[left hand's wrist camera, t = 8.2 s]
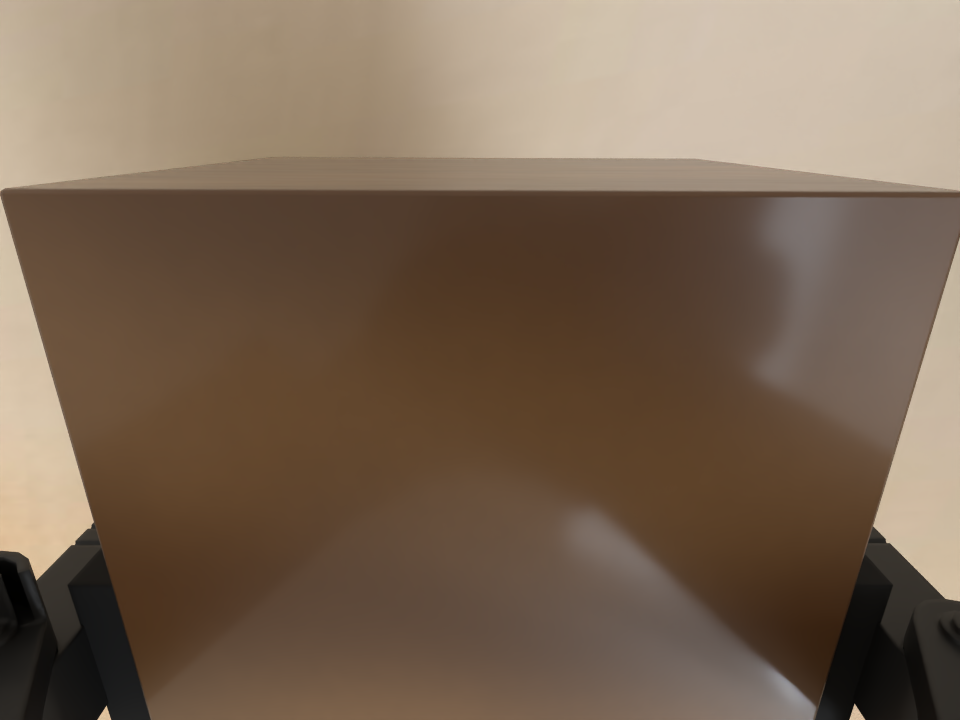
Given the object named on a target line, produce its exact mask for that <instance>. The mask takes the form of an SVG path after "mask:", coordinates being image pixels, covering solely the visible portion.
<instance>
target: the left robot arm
mask: <svg viewBox="0 0 960 720" xmlns="http://www.w3.org/2000/svg"><path fill="white" fill-rule="evenodd" d="M854 703H855V705H856V706H857V708H858V709H859V711H860V712H861V714H862V715H863V717H864V718H865V720H960V602H959V601H954V600H948V599H945V598H944V597H943V596H942V595H941V594H940V593H939V592H938V591H937V590H936V589H935V588H934V587H933V586H932V585H931V584H930V583H929V582H928V581H927V580H926V579H925V578H924V577H923V576H922V575H921V574H920V573H919V572H918V571H917V570H916V569H915V568H914V567H913V566H912V565H911V564H910V563H909V562H908V561H907V560H906V559H905V558H904V557H903V556H902V555H901V554H900V553H899V552H898V551H897V550H896V549H895V548H894V547H893V546H892V545H891V544H890V543H886V539H885V538H884V537H883V536H882V535H881V534H880V533H879V532H878V531H877V530H876V529H875V528H874V527H872V531H871V534H870V537H869V541H868V544H867V547H866V551H865V554H864V557H863V561H862V564H861V567H860V571H859V574H858V577H857V581H856V584H855V587H854V591H853V594H852V597H851V601H850V604H849V607H848V611H847V614H846V617H845V621H844V624H843V627H842V631H841V634H840V637H839V641H838V644H837V647H836V651H835V654H834V657H833V661H832V664H831V667H830V671H829V674H828V677H827V681H826V684H825V687H824V691H823V694H822V697H821V701H820V704H819V707H818V711H817V714H816V717H815V720H849V719H850V716H851V713H852V710H853V707H854ZM106 705H107V708H108V711H109V714H110V717H111V720H151V719H150V715H149V712H148V708H147V705H146V701H145V698H144V694H143V691H142V687H141V684H140V680H139V677H138V674H137V670H136V667H135V663H134V660H133V656H132V653H131V649H130V646H129V642H128V639H127V635H126V632H125V628H124V625H123V621H122V618H121V614H120V611H119V607H118V604H117V600H116V597H115V593H114V590H113V586H112V583H111V579H110V576H109V572H108V569H107V565H106V562H105V558H104V555H103V551H102V548H101V544H100V541H99V538H98V534H97V531H96V527H95V524H94V523H93V524H92V527H91V529H87V530H86V531H85V532H84V533H83V534H82V535H81V536H80V537H79V538H78V539H77V540H76V544H75V545H71V546H70V547H69V548H68V549H67V550H66V551H65V552H64V553H63V554H62V555H61V556H60V557H59V558H58V559H57V560H56V561H55V562H54V563H53V564H52V565H51V566H50V567H49V569H48V570H47V571H46V572H45V573H44V574H43V575H42V576H41V577H40V578H39V579H38V580H37V581H36V579H35V576H34V573H33V570H32V567H31V565H30V562H29V559H28V558H26V557H25V556H23V555H22V554H20V553H19V552H8V551H0V720H97V719H98V718H99V716H100V715H101V713H102V712H103V710H104V709H105V707H106Z"/></svg>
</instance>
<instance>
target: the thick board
mask: <svg viewBox="0 0 960 720" xmlns="http://www.w3.org/2000/svg"><path fill="white" fill-rule="evenodd" d="M0 196H1V199H2V203H3V206H4V210H5V213H6V217H7V220H8V224H9V227H10V231H11V234H12V238H13V241H14V245H15V248H16V252H17V255H18V259H19V262H20V265H21V269H22V272H23V276H24V279H25V283H26V286H27V290H28V293H29V297H30V300H31V304H32V307H33V311H34V314H35V318H36V321H37V325H38V328H39V332H40V335H41V339H42V342H43V346H44V349H45V353H46V356H47V360H48V363H49V367H50V370H51V374H52V377H53V381H54V384H55V388H56V391H57V395H58V398H59V401H60V405H61V408H62V412H63V415H64V419H65V422H66V426H67V429H68V433H69V436H70V440H71V443H72V447H73V450H74V454H75V457H76V461H77V464H78V468H79V471H80V475H81V478H82V482H83V485H84V489H85V492H86V496H87V499H88V503H89V506H90V510H91V513H92V517H93V520H94V524H95V527H96V531H97V534H98V538H99V541H100V544H101V548H102V551H103V555H104V558H105V562H106V565H107V569H108V572H109V576H110V579H111V583H112V586H113V590H114V593H115V597H116V600H117V604H118V607H119V611H120V614H121V618H122V621H123V625H124V628H125V632H126V635H127V639H128V642H129V646H130V649H131V653H132V656H133V660H134V663H135V667H136V670H137V674H138V677H139V680H140V684H141V687H142V691H143V694H144V698H145V701H146V705H147V708H148V712H149V715H150V719H151V720H815V717H816V714H817V711H818V707H819V704H820V701H821V697H822V694H823V691H824V687H825V684H826V681H827V677H828V674H829V671H830V667H831V664H832V661H833V657H834V654H835V651H836V647H837V644H838V641H839V637H840V634H841V631H842V627H843V624H844V621H845V617H846V614H847V611H848V607H849V604H850V601H851V597H852V594H853V591H854V587H855V584H856V581H857V577H858V574H859V571H860V567H861V564H862V561H863V557H864V554H865V551H866V547H867V544H868V541H869V537H870V534H871V531H872V527H873V524H874V521H875V517H876V514H877V511H878V507H879V504H880V501H881V497H882V494H883V491H884V487H885V484H886V481H887V477H888V474H889V471H890V467H891V464H892V461H893V457H894V454H895V451H896V447H897V444H898V441H899V437H900V434H901V431H902V428H903V424H904V421H905V418H906V414H907V411H908V408H909V404H910V401H911V398H912V394H913V391H914V388H915V384H916V381H917V378H918V374H919V371H920V368H921V364H922V361H923V358H924V354H925V351H926V348H927V344H928V341H929V338H930V334H931V331H932V328H933V324H934V321H935V318H936V314H937V311H938V308H939V304H940V301H941V298H942V294H943V291H944V288H945V284H946V281H947V278H948V274H949V271H950V268H951V264H952V261H953V258H954V254H955V251H956V248H957V244H958V241H959V238H960V191H957V190H948V189H940V188H932V187H924V186H915V185H907V184H899V183H891V182H882V181H874V180H866V179H858V178H849V177H841V176H833V175H824V174H816V173H808V172H800V171H791V170H783V169H775V168H767V167H758V166H750V165H742V164H734V163H725V162H717V161H709V160H701V159H599V158H301V157H271V158H262V159H253V160H245V161H236V162H228V163H219V164H211V165H202V166H193V167H185V168H176V169H168V170H159V171H150V172H142V173H133V174H125V175H116V176H108V177H99V178H90V179H82V180H73V181H65V182H56V183H47V184H39V185H30V186H22V187H13V188H5V189H3V190H2V191H1V192H0Z"/></svg>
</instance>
